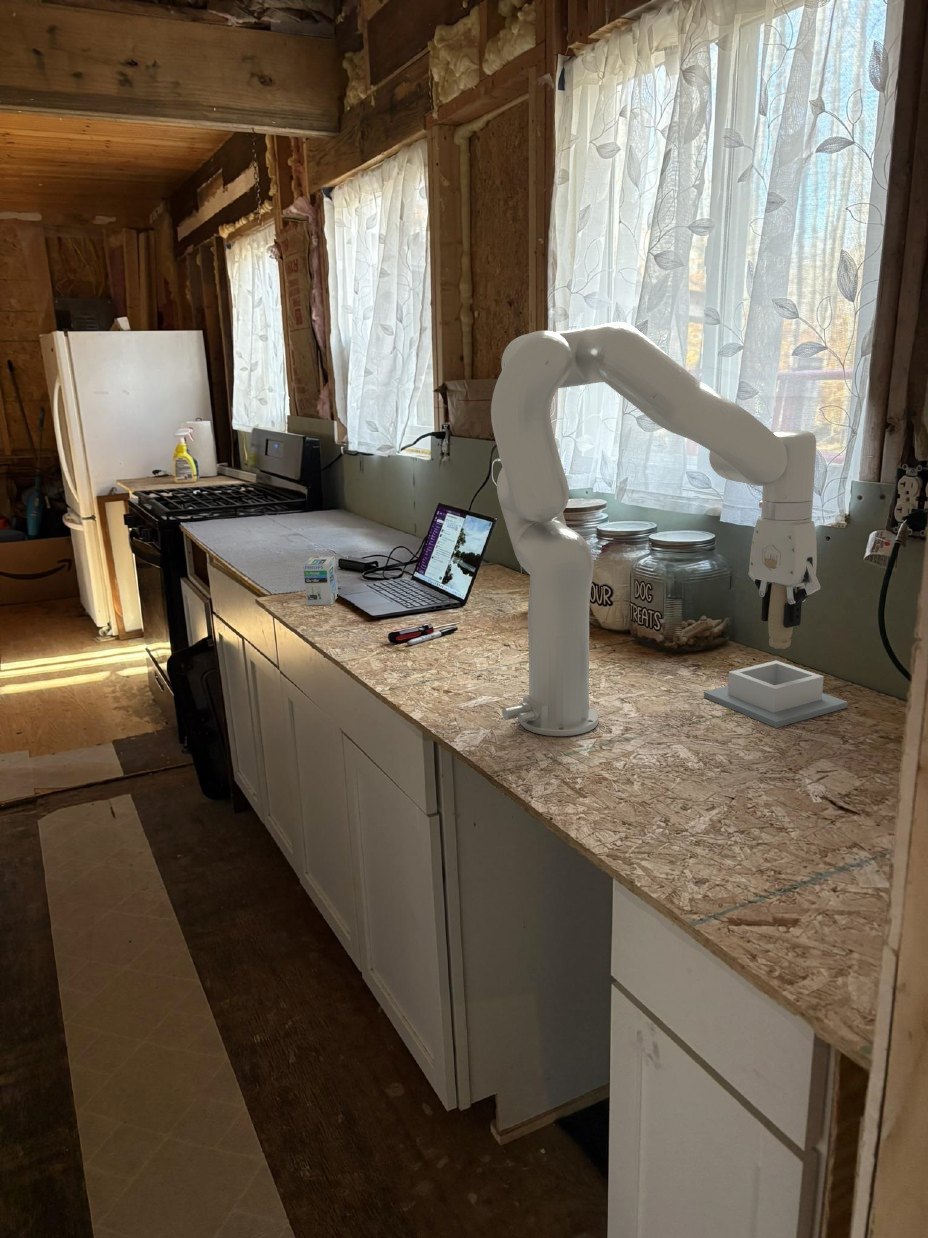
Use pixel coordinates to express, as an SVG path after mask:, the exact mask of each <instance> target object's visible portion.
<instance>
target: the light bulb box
mask: <svg viewBox="0 0 928 1238" xmlns="http://www.w3.org/2000/svg"><path fill="white" fill-rule="evenodd" d="M337 574H338V573H337V561H336V556H335V555H332V556H325V555H324V556H322V555H321V556H314V555H313V556H309V558H308V559H307V560H306V561H305V562H304V563H303V576H304V578H303V579H304V587H305V589H304V590H305V601H306V606H332V605H333V604H334V603H335V601H336V599H337V598H338V597H337V594H338V595H339V588H338V587H339V586H338V577H337V576H338V575H337Z"/></svg>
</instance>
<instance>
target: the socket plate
mask: <svg viewBox="0 0 928 1238" xmlns="http://www.w3.org/2000/svg"><path fill="white" fill-rule="evenodd" d="M824 677H825V676H824V675H820V674H819V673H818V674H817V673H815V672H812V671H809V670H806V669H803V668H799V667H797V666H794V665H792V664H788V663H786V662H782V661H779V660H773V661H768V662H764V663H760V664H755V665H751V666H748V667H744V668H740V669H735V670H731V671H728V679H727V682H728V684H727V685H726V686H722V687H718V688H714V689H710V690H705V691H704V692H703V698H704V699H707V700H709V701H710V702H713V703H716V704H718V705H721V706H724V707H726V708H727V709H729V710H730V709H731V710H733V711H734V712H735V711H736V712H737V713H740V714H743V715H744V716H747V717H750V718H752V719H754V720H757V721H759V722H761V723H764V724H765V725H768V726H771V727H773V728H776V729H778V728H780V727H784V726H787V725H791V724H795V723H799V722H802V721H805V720H808V719H812V718H816V717H819V716H823V715H826V714H829V713H832V712H833V713H834V712H836V711H841V710H844V709H847V708H848V704H849V703H848V701H847V700H843V699H841V698H838V697H835V696H832V695H829V694H828V693H827V694H826V693H825V692H823V689H824Z"/></svg>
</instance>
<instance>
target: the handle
mask: <svg viewBox="0 0 928 1238" xmlns="http://www.w3.org/2000/svg"><path fill="white" fill-rule="evenodd" d="M764 564H765V566H767V567H768V568H773V569H775V568H776V565H777V560H771V559H766V558H765V563H764ZM785 603H788V598H787V587H786V586H784V585H779V584H775V583H772V587H771V596H770V604H769V614H768V621H767V623H768V624H767V625H768V626H767V627H768V629H767V630H768V636H769V638H768V644H769V647H772V648H773V649H776V650H777V649H781V650H786V649H788V648H789V647H790V646H791V644H792V639H791V638H792V635H793V630H794V627H789V628H786V627H784V626H783V621H784V605H785Z"/></svg>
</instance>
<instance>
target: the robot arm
mask: <svg viewBox="0 0 928 1238" xmlns="http://www.w3.org/2000/svg"><path fill="white" fill-rule="evenodd" d="M596 383H605V384H606V385H608V386H609V387H610V388H611V389H613V390H614V391H615V392H616V393H617V394H619V395H620V396H622V397H623V398H624V399H625V400H627V401H628V402H629V403H630V404H632V405H633V406H634V407H635V408H636V409H638V410H639V411H640V412H641V413H642V414H644V415H645V416H646V418H649V420H651V421H652V422H653V423H655V424H656V425H657V426H660V427H661V428H662V429H665V430H666V431H668V432H670V433H673V434H676V435H677V436H681V437H683V438H686V439H689V440H690V441H693V442H694V443H697V444H698V445H700V446H702V447H703V448H705V449H707V450H709V455H708V458H709V459H708V460H709V465H710V467H711V468H712V470H713V471H714V472H715V473H716V475H718V476H720V477H721V478H723V479H725V480H729V481H733V482H737V483H743V484H747V485H750V486H755V487H756V486H757V487H762V492H761V501H760V502H759V503H758V508H759V509H761V513H760V514H761V517H758V518H756V519H757V520H756V522H755V525H754V529H753V534H752V539H751V548H750V555H749V556H750V557H749V568H748V569H749V570H748V572H747V575H748V576H749V577H750V578H751V580H752V581H753V582H754V584H755V585H756V587H757V589H758V595H759V596H760V597H761V598H762V600H761V613H760V614H761V615H760V617H761V618H760V620H761V621H762V622H768V614H769V604H770V596H771V587H772V583H775V584H779V585H784V586H786V587H787V598H788V603H785V605H784V621H783V626H784V627H786V628H789V627H793V628H794V627H797V626H800V625H801V620H802V619H801V618H802V606H803V605H802V603H803V602H805V601H806V600H807V598H808V597H809V596H810V595H812V594H814V593H815V592H817V591H819V590H821V588H822V586H821V584H820V582H819V579H818V577H817V563H818V561H817V560H818V557H817V556H818V554H817V553H818V551H817V550H818V549H817V547H818V546H817V544H818V543H817V533H816V526H815V521H813V517H812V516H813V506H814V505H813V502H814V487H815V474H816V473H815V472H816V469H815V468H816V455H817V438H816V436H815V434H814V433H813V432H811V431H808V430H807V431H806V430H780V431H774V432H773V431H772V430H771V429H769V428H768V427H767V426H766V425H765V424H763V423H762V422H761V421H760V420H759V419H757V418H756V417H755V416H754V415H752V414H751V413H750V412H748V411H747V410H746V409H745V408H743V407H742V406H740V405H739V404H737V403H735V402H734V401H732V400H731V399H729V398H727V397H725V396H724V395H723V394H721V393H719V392H718V391H717V390H716V389H714V388H713V387H711V386H709V385H707V384H706V383H704V382H702V381H701V380H699V379H698V378H696V377H695V376H694V375H692V374H691V373H690V372H689V371H687V370H686V369H685V368H684V367H683V366H682V365H681V364H679V363H678V362H677V361H676V360H674V359H673V358H672V357H671V356H670V355H669V354H667V353H666V352H665V351H664V350H662V349H661V348H660V346H658V345H657V344H656V343H654V342H653V341H652V340H651V339H649V338H648V337H647V336H646V335H645V334H643V332H641V331H639V329H637V328H636V327H635V326H633V325H631V324H629V323H627V322H622V321H621V322H620V321H616V322H615V321H614V322H610V323H609V322H608V323H603V324H600V325H599V324H598V325H595V326H589V327H584V328H583V327H582V328H578V329H572V330H563V331H561V330H560V331H550V330H537V331H533V332H529V333H527V334H522V335H520V336H518V337H516V338H514V339H513V340H511V342H509V343H508V345H507V346H506V347H505V348H504V351H503V354H502V357H501V372H500V374H499V375H498V378H497V380H496V384H495V386H494V388H493V389H494V390H493V394H492V397H491V398H492V399H491V404H490V405H491V406H490V415H491V416H490V417H491V425H492V432H493V435H494V440H495V443H496V447H497V452H498V456H499V460H500V463H501V466H502V467H501V469H500V471H499V472H498V477H497V480H496V481H497V482H496V490H497V491H496V493H497V498H498V501H499V505H500V509H501V512H502V515H503V516H502V517H503V519H504V521H505V526H506V529H507V533H508V536H509V539H510V543H511V545H512V549H513V551H514V555H515V557H516V559H517V562H518V563H519V565H520V566H521V567H522V569H523V570H524V571H525V572H527V574H528V575H529V592H528V601H527V602H528V603H527V633H528V635H527V636H528V640H527V641H528V642H527V643H528V694H527V695H523V696H522V702H519V704H518V705H515V706H514V705H512V706H507V707H504V708H503V709H502V711H501V713H502V718H503V719H504V720H505V721H509V720H512V719H513V720H514V719H517V720H518V721H519V723H520V725H521V726H522V727H523V728H524V729H525V730H527V731H529V732H532V733H534V734H539V735H544V736H549V737H570V736H578V735H581V734H585V733H588V732H591V731H592V730H593V729H595V728H596V727H597V726H598V724H599V714H598V712H597V711H596V710H595V709H593V708H592V707H590V706H589V705H590V704H589V703H590V702H589V701H590V699H589V698H590V602H591V601H590V600H591V593H592V584H593V578H594V565H595V564H594V556H593V552H592V550H591V548H590V546H589V543H588V542H587V540H586V539H585V538H584V537H583V536H582V535H581V534H580V533H578V532H577V531H575V530H574V529H572V528H570V527H568V526H567V522H566V519H565V516H564V511H565V510H566V508H567V506H568V503H569V497H570V487H569V483H568V482H569V481H568V480H567V476H566V473H565V470H564V467H563V464H562V460H561V457H560V453H559V449H558V447H557V442H556V438H555V434H554V429H553V425H552V419H551V409H552V408H551V407H552V403H553V400H554V397H555V395H556V393H557V391H558V390H559V389H565V388H572V387H578V386H579V387H580V386H585V385H591V384H592V385H593V384H596ZM765 558H766V559H771V560H777V565H776V568H775V569H773V568H768V567H767V566H765V564H764V563H765Z"/></svg>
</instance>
